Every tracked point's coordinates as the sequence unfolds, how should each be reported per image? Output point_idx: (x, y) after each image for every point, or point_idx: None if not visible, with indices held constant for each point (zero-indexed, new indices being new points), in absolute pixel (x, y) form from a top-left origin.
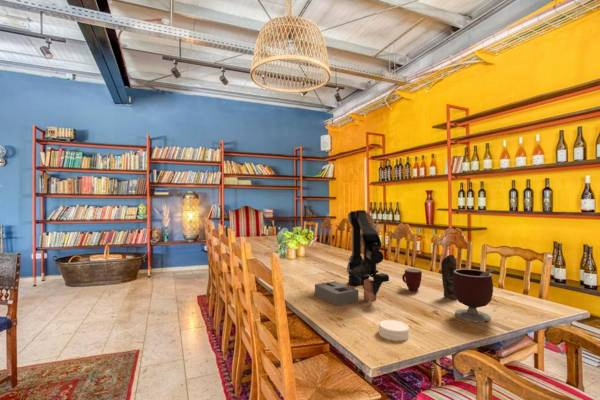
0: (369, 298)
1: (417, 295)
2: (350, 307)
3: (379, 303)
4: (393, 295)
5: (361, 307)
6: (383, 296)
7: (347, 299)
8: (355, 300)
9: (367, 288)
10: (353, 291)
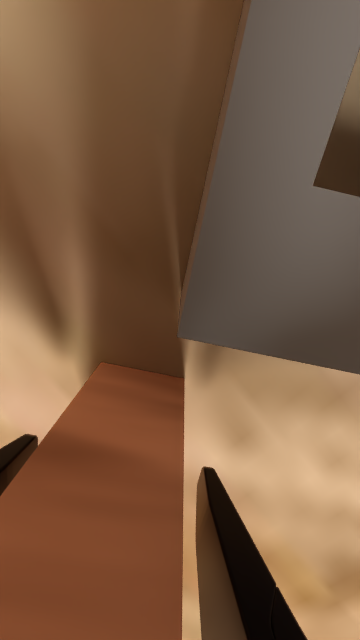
0: (93, 380)
1: None
2: (90, 6)
3: (18, 385)
4: None
5: (15, 142)
6: None
7: (228, 78)
8: (190, 252)
9: (77, 487)
10: (210, 194)
